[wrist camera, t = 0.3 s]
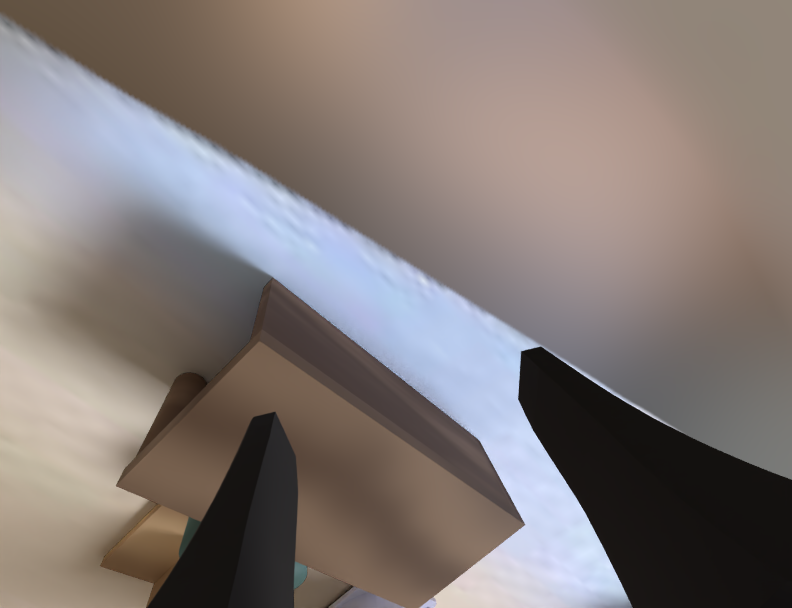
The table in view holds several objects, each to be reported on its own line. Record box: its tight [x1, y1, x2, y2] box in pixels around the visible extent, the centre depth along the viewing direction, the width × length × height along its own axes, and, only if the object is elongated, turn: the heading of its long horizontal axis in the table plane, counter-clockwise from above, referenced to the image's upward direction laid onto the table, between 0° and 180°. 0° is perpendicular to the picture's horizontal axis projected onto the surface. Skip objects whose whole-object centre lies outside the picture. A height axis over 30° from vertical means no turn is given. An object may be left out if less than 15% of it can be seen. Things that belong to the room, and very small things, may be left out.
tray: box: [100, 504, 307, 608], centre depth 24 cm, size 12×9×5 cm
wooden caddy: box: [116, 278, 525, 608], centre depth 22 cm, size 8×18×6 cm, turn 43°
